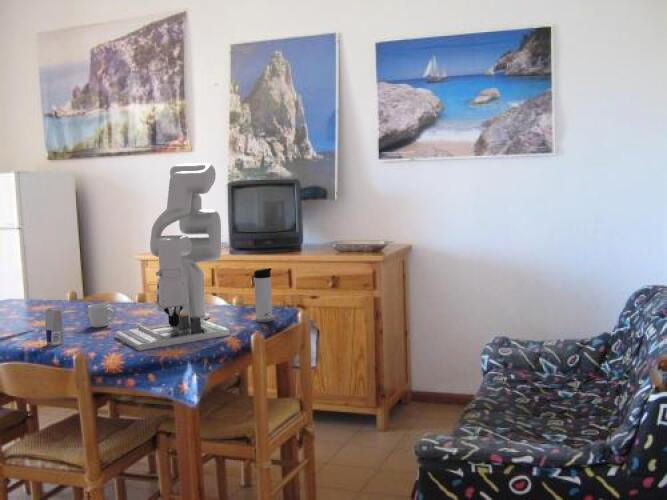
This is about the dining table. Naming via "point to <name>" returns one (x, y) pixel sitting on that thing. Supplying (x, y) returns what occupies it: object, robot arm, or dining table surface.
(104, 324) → the cup
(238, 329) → the dining table surface
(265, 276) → the travel mug
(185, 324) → the block
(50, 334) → the energy drink
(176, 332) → the panel
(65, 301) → the dining table surface
